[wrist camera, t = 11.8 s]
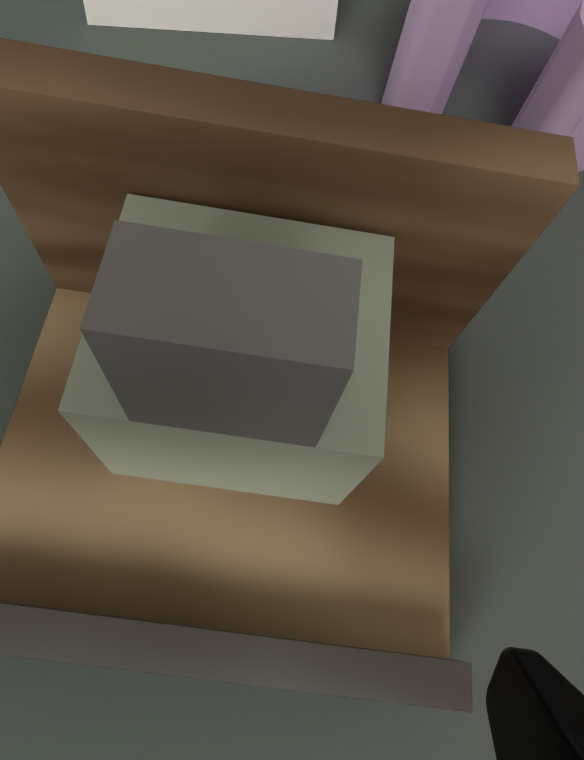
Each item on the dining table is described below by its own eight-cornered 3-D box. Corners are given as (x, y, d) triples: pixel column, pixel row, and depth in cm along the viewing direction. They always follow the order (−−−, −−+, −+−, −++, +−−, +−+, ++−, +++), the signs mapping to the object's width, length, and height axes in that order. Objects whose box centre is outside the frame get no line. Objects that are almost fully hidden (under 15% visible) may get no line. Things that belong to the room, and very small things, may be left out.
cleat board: (437, 698, 16) (664, 792, 7) (-50, 638, 15) (-395, 666, 7) (438, 325, 21) (573, 137, 13) (76, 269, 20) (-32, 32, 12)
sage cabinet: (338, 505, 17) (453, 385, 8) (112, 473, 16) (-28, 313, 8) (352, 336, 19) (451, 104, 10) (155, 306, 19) (88, 40, 10)
